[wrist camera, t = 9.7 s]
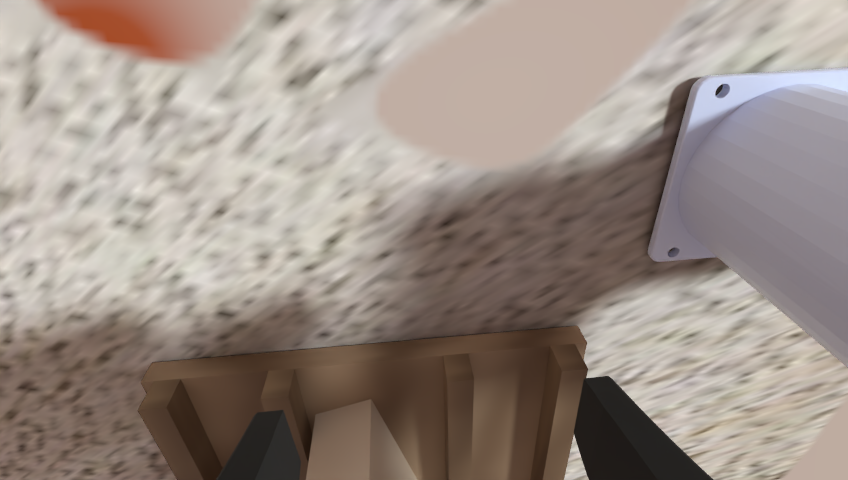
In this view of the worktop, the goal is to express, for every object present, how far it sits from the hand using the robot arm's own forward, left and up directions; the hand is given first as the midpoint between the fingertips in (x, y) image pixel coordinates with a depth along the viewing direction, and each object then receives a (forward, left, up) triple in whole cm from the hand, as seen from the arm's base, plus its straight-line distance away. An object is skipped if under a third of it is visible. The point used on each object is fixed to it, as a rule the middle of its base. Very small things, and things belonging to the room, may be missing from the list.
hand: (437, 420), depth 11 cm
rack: (+3, +15, -9) cm, 18 cm away
